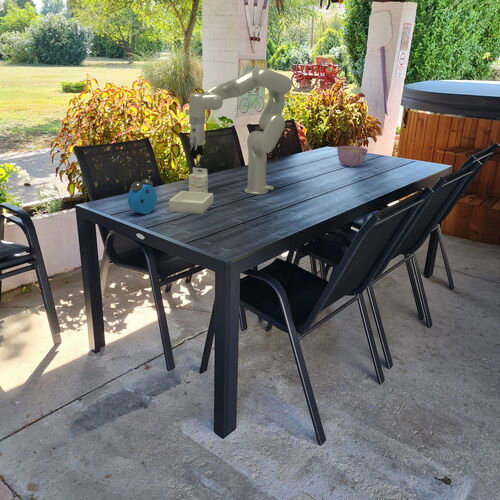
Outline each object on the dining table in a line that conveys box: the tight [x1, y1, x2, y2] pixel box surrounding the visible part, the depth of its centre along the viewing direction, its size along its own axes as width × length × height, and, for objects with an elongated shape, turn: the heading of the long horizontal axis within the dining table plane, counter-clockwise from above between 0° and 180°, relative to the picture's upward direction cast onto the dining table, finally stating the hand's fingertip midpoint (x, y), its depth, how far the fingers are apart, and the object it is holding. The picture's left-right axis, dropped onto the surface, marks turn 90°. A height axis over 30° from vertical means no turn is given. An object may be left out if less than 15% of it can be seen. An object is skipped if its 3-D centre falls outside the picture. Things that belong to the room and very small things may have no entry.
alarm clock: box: [127, 178, 158, 215], centre depth 222 cm, size 13×6×15 cm, turn 151°
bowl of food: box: [336, 145, 368, 167], centre depth 331 cm, size 20×20×12 cm
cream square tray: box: [168, 190, 214, 215], centre depth 234 cm, size 16×18×5 cm
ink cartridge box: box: [188, 166, 209, 193], centre depth 248 cm, size 9×5×15 cm, turn 71°
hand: (196, 156), depth 243 cm, fingers open, 9 cm apart
